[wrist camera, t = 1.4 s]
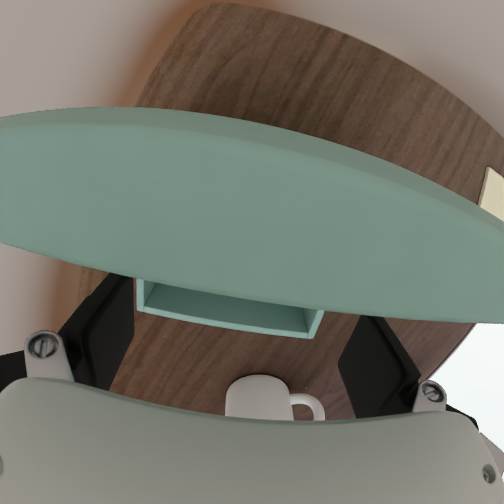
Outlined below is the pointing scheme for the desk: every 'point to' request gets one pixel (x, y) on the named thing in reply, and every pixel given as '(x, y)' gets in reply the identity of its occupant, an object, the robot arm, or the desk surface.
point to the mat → (492, 194)
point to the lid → (246, 214)
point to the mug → (266, 399)
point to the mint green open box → (227, 310)
